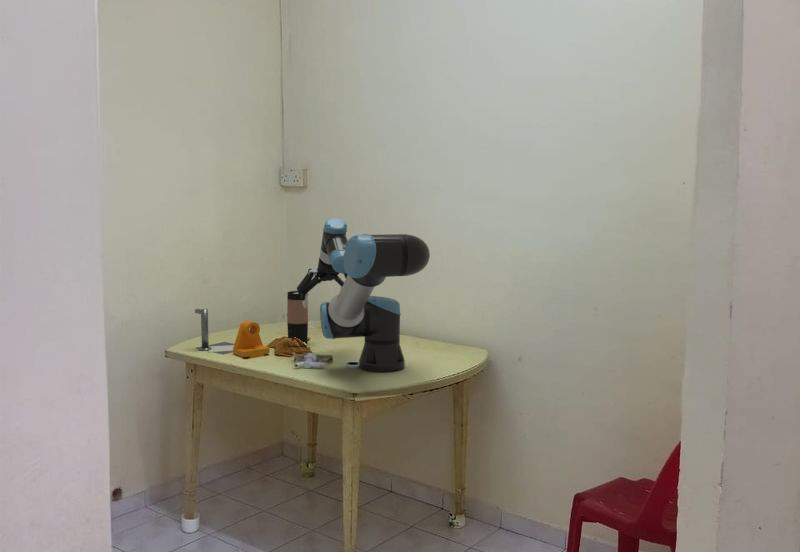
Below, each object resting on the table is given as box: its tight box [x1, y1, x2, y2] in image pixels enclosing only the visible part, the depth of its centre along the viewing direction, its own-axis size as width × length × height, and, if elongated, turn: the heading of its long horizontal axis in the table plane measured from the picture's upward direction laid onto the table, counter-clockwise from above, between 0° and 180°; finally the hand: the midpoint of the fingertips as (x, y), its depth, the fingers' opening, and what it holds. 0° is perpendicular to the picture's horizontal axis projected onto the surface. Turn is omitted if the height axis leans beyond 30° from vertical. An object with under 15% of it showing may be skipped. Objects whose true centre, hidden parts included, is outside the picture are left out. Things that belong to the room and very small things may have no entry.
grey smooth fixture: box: [194, 308, 212, 352], centre depth 257 cm, size 7×4×15 cm
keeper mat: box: [194, 341, 235, 355], centre depth 260 cm, size 16×17×1 cm
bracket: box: [232, 320, 270, 359], centre depth 250 cm, size 11×7×12 cm, turn 132°
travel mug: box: [286, 290, 309, 345], centre depth 268 cm, size 8×8×20 cm
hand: (322, 304), depth 258 cm, fingers open, 13 cm apart
